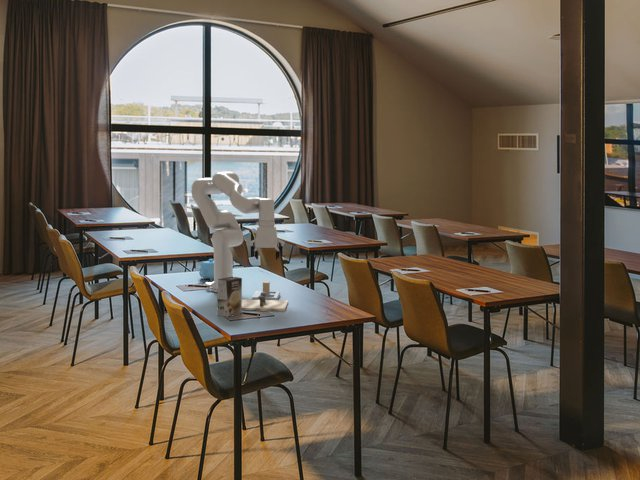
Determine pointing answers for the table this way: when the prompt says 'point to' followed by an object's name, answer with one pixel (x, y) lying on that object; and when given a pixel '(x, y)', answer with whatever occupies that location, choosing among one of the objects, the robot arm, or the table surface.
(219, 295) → the coffee box
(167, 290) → the table surface
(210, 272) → the teapot
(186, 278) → the table surface
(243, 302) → the board
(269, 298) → the panel
